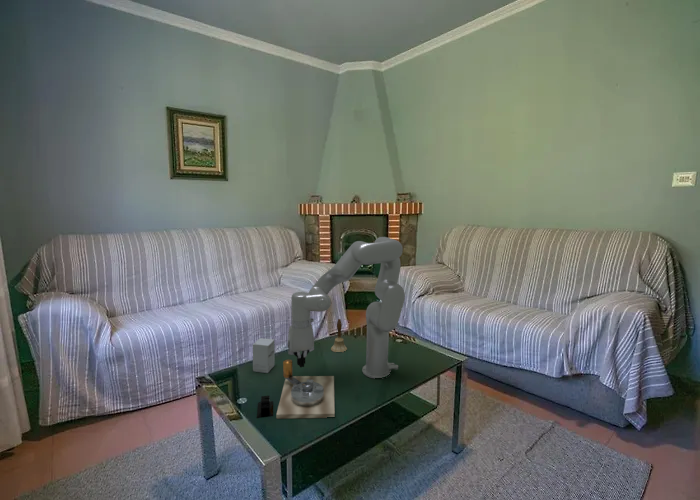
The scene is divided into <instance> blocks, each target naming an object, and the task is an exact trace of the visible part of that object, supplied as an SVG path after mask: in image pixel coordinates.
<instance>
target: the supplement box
mask: <svg viewBox="0 0 700 500" xmlns="http://www.w3.org/2000/svg"><path fill="white" fill-rule="evenodd" d="M275 344H276V343H275V339H274V338H273V339H271V338H261V337H260V338H258V339H257V340H256V341H255V342H254V343H252V371H253V372H255V373H256V372H257V373H263V374H264V373H265V374H269V373H270V372H271V370H272V369H273V368H274V367H275V365H276V364H275V358H276V357H275V349H276V348H275V347H276V346H275Z"/></svg>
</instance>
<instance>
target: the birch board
mask: <svg viewBox="0 0 700 500" xmlns="http://www.w3.org/2000/svg"><path fill="white" fill-rule="evenodd" d="M292 376H293V375H292ZM293 377H294V378H296V379H297V380H298V381H300V382H306V381H307V379H309V380H313V382H316V383H319V384H321V385H322V386H323V388H324V398H323V400H322V401H321V402H320V403H319V404H317V405H314V406H310V407H302V406H298V405H296V404H294V403H293V402H292V400H291V390H292V387H293V385H294V384H293V383H291V382H290V381H289V380H287V379H286V378H284V379H285V380H284V383H283V387H282V389H281V390H282V391H281V395H280V400H279V403H278V406H277V411H276V417H275V418H276V419H328V418H327V417H335V413H336V412H335V410H336V409H335V376H334V375H319V376H318V375H313V376H312V375H310V376H309V375H303V376H302V375H300V376H298V375H295V376H293Z"/></svg>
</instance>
